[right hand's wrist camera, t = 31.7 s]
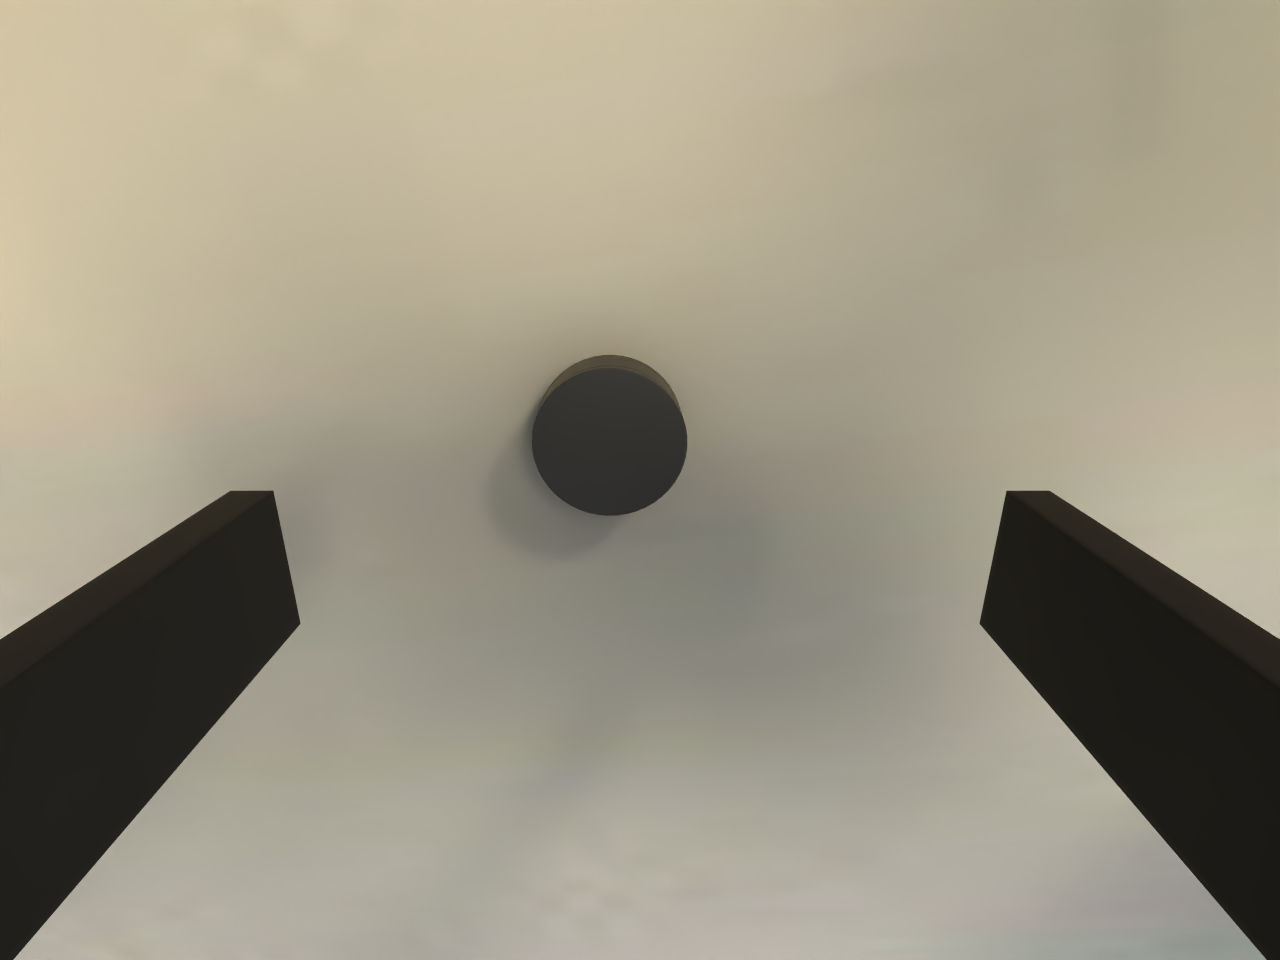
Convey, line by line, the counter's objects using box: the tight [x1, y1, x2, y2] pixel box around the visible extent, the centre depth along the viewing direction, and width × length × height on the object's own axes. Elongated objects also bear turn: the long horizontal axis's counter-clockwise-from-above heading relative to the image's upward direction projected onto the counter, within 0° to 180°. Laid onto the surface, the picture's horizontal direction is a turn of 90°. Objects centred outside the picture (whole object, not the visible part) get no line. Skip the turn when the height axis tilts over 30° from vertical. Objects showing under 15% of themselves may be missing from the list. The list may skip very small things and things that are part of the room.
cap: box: [532, 355, 687, 515], centre depth 19 cm, size 4×4×2 cm
